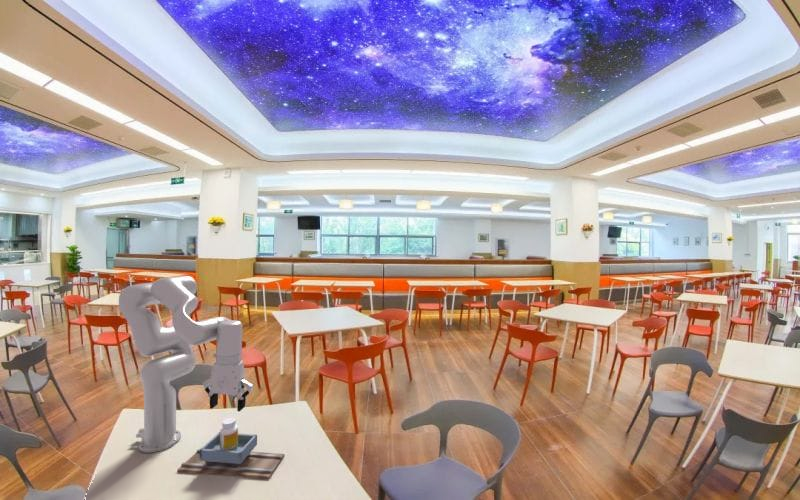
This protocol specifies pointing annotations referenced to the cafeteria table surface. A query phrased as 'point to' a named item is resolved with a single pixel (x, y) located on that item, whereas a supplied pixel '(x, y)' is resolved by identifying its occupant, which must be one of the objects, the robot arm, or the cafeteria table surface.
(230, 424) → the supplement bottle
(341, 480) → the cafeteria table surface
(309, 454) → the cafeteria table surface
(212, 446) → the blue shallow tray
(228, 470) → the track
